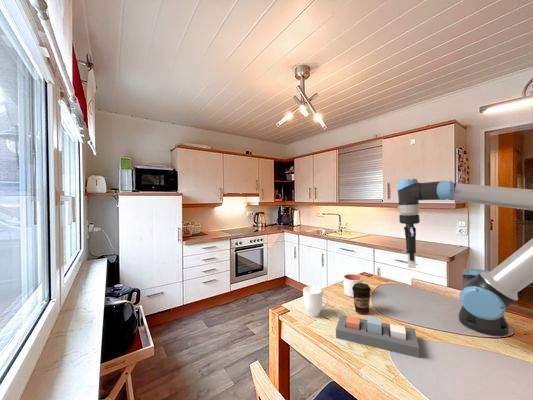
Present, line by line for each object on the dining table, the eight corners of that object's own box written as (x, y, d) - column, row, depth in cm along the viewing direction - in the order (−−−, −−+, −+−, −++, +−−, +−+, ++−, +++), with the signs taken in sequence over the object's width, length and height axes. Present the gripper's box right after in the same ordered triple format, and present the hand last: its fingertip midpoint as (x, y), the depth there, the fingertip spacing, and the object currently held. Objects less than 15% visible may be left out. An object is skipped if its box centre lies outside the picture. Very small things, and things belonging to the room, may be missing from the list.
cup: (340, 292, 131) (339, 275, 131) (354, 289, 134) (354, 273, 134) (351, 300, 122) (351, 281, 122) (367, 296, 125) (366, 278, 125)
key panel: (414, 337, 89) (414, 328, 89) (419, 357, 78) (419, 347, 78) (340, 322, 102) (340, 314, 101) (336, 337, 91) (335, 329, 91)
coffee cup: (374, 317, 104) (372, 289, 104) (354, 316, 106) (353, 288, 106) (369, 307, 113) (368, 282, 113) (351, 307, 115) (350, 281, 114)
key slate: (381, 330, 91) (381, 318, 91) (381, 337, 86) (381, 325, 86) (368, 327, 93) (367, 316, 93) (367, 334, 89) (367, 322, 89)
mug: (305, 319, 105) (304, 293, 105) (303, 310, 114) (301, 286, 114) (330, 318, 105) (329, 292, 105) (326, 309, 114) (325, 285, 114)
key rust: (360, 329, 95) (360, 318, 94) (359, 336, 90) (359, 324, 90) (348, 326, 97) (347, 315, 97) (346, 333, 92) (345, 321, 92)
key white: (405, 338, 87) (404, 326, 87) (406, 347, 83) (406, 334, 83) (390, 335, 89) (390, 323, 89) (390, 343, 85) (390, 330, 85)
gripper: (397, 213, 107) (400, 262, 107) (401, 215, 95) (403, 271, 95) (416, 212, 104) (419, 263, 104) (422, 215, 92) (425, 272, 92)
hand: (411, 267), depth 100 cm, fingers closed
